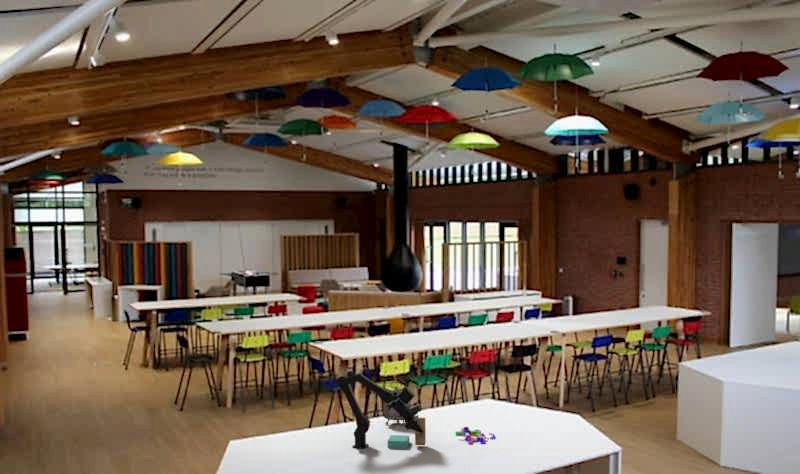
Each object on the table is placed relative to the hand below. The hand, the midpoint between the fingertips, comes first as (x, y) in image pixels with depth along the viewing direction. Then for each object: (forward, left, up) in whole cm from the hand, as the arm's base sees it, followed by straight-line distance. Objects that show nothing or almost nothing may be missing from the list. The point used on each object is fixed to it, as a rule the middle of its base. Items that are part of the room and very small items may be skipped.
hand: (423, 430), depth 353 cm
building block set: (+26, -21, -9) cm, 34 cm away
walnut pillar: (-1, +1, -7) cm, 7 cm away
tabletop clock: (+34, +29, -9) cm, 45 cm away
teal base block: (-1, +13, -9) cm, 16 cm away
